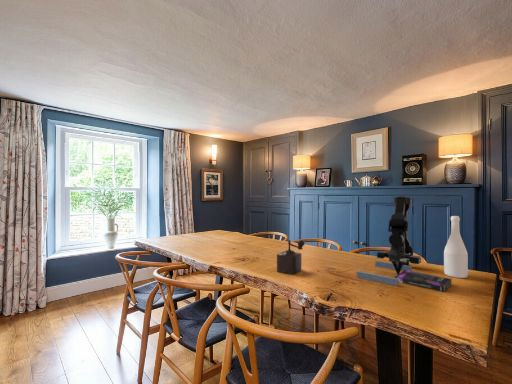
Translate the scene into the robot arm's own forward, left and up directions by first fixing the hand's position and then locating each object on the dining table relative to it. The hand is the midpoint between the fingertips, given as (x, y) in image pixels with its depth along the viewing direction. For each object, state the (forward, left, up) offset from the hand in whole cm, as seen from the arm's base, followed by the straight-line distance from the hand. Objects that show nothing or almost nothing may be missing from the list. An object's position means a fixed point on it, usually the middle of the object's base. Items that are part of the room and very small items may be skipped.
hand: (398, 274), depth 130 cm
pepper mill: (+27, -44, -2) cm, 52 cm away
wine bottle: (-22, +21, -2) cm, 30 cm away
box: (+1, +11, -2) cm, 11 cm away
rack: (0, -6, -1) cm, 6 cm away
